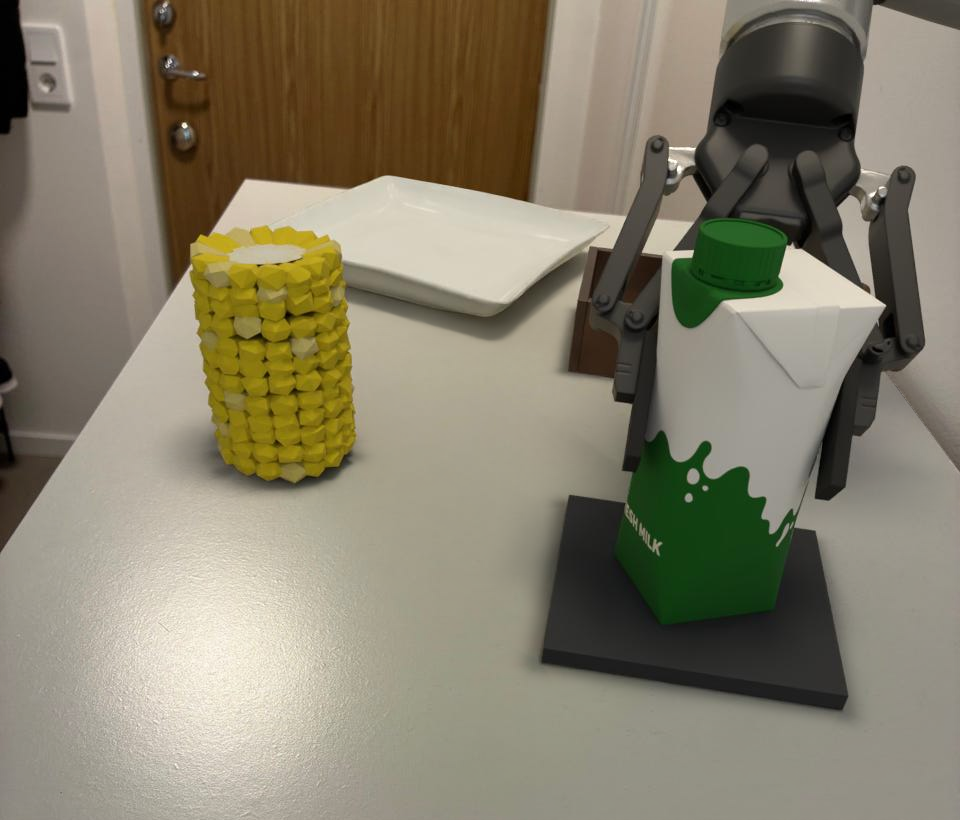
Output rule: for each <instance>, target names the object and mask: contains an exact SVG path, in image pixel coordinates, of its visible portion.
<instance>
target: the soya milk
mask: <svg viewBox="0 0 960 820" xmlns="http://www.w3.org/2000/svg"><path fill="white" fill-rule="evenodd" d="M787 240H788V239H787V236H786V235H785V234H784V233H783V232H781V231H780V230H778V229H776V228H774V227H771V226H769V225H766V224H763V223H759V222H754V221H749V220H743V219H733V218H719V219H711V220H707V221H705V222H703V223H702V224H701V225H700V226H699V229H698V234H697V239H696V243H695V248H694V250H685V251H673V250H671V251H664V252H663V253H662V255H663V257H662V274H661V291H660V308H659V324H658V340H657V362H656V368H655V374H654V381H653V387H652V394H651V400H650V407H649V413H648V420H647V426H646V433H645V439H644V446H643V452H642V458H641V461H640V463H639V466H638V469H637V471H636V473H634V472H631V478H630V482H629V487H628V493H627V497H626V501H625V503H626V505H625V509H624V513H623V517H622V522H621V526H620V530H619V534H618V538H617V542H616V547H615V551H614V555H615V557H616V558H617V560H618V561H619V563H620V564H621V566H622V567H623V569H624V570H625V572H626V573H627V575H628V576H629V578H630V579H631V581H632V582H633V584H634V585H635V587H636V588H637V590H638V591H639V593H640V594H641V596H642V597H643V599H644V600H645V602H646V603H647V605H648V606H649V607H650V609H651V610H652V612H653V613H654V615H655V616H656V618H657V619H658V621H659V622H660V624H661V625H668V624H675V623H683V622H690V621H697V620H704V619H712V618H719V617H726V616H733V615H740V614H748V613H755V612H762V611H769V610H774V606H775V602H776V598H777V594H778V590H779V586H780V582H781V578H782V574H783V570H784V566H785V562H786V558H787V554H788V550H789V546H790V542H791V538H792V534H793V530H794V527H796V523H797V519H798V516H799V513H800V510H801V507H802V504H803V500H804V497H805V495H806V492H807V489H808V485H809V483H810V480H811V476H812V474H813V470H814V467H815V464H816V461H817V458H818V455H819V452H820V451H821V446H822V441H823V438H824V435H825V432H826V429H827V426H828V423H829V420H830V417H831V414H832V411H833V408H834V405H835V402H836V399H837V396H838V393H839V390H840V387H841V384H842V382H843V379H844V377H845V375H846V373H847V372H848V370H849V368H850V366H851V364H852V363H853V361H854V359H855V358H856V356H857V354H858V353H859V351H860V349H861V347H862V346H863V344H864V342H865V341H866V339H867V337H868V336H869V334H870V332H871V331H872V329H873V327H874V325H875V324H876V322H877V323H878V319H879V317H880V315H881V314H882V312H883V310H884V309H885V307H886V305H885V304H883V303H882V302H881V301H879V300H878V299H876V298H875V296H873V295H872V294H869V293H867V292H866V291H864V290H863V289H861V288H859V287H858V286H856V285H855V284H853V283H852V282H850V281H849V280H847V279H846V278H844V277H843V276H841V275H840V274H838V273H837V272H835V271H834V270H832V269H831V268H829V267H828V266H826V265H825V264H823V263H822V262H820V261H819V260H817V259H816V258H814V257H813V256H811V255H810V254H808V253H807V252H805V251H804V250H802V249H795V248H787V243H788V242H787Z"/></svg>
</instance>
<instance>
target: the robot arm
mask: <svg viewBox="0 0 960 820" xmlns="http://www.w3.org/2000/svg"><path fill="white" fill-rule="evenodd" d="M873 6H880V7H883V8H886V9H889V10H892V11H895V12H899V13H902V14H905V15H907V16H912V17H914V18H918V19H920V20H924V21H926V22H930V23H933V24H937V25H941V26H943V27H947V28H950V29H954V30H957V31H960V0H726V5H725V11H724V17H723V24H722V29H721V36H720V43H719V49H718V62H717V65H716V68H715V74H714V80H713V87H712V94H711V100H710V107H709V113H708V119H707V126H706V133H705V134H704V136H703V137H702V139H701V140H700V141H699V142H698V144H697V146H696V147H694V146H693V147H691V146H689V147H688V146H670V144H669V143H670V142H669V141H668V139H667V138H666V137H665V136H664V135H660V134H655V135H652V136H651V137H649V138H648V139H647V140H646V143H645V147H644V151H643V152H644V153H643V157H642V161H641V169H640V174H639V175H640V177H639V178H640V179H639V188H638V190H637V192H636V194H635V197H634V199H633V201H632V204H631V206H630V209H629V211H628V212H627V214H626V217H625V220H624V222H623V224H622V227H621V229H620V231H619V234H618V236H617V238H616V240H615V242H614V245H613V247H612V248H611V249H612V252H611V254H610V256H609V259H608V261H607V263H606V266H605V268H604V270H603V272H602V275H601V277H600V279H599V282H598V284H597V286H596V289H595V291H594V293H593V295H592V300H591V306H590V314H589V324H590V326H591V328H592V329H594V330H596V331H606V332H608V333H610V334H611V335H613V336H614V337H615V338H616V339H617V341H618V344H619V350H618V357H617V363H616V369H615V375H614V377H613V381H612V382H613V383H612V390H611V395H612V398H613V402H614V403H621V404H628V405H631V408H630V415H629V421H628V426H627V434H626V439H625V440H626V441H625V448H624V453H623V460H622V465H621V472H628V473H632V472H634V473H636V471H637V469H638V466H639V463H640V461H641V458H642V452H643V446H644V439H645V433H646V426H647V420H648V413H649V407H650V400H651V394H652V387H653V381H654V374H655V368H656V362H657V340H658V332H654V331H651V330H652V329H653V327H654V326H655V325H656V323H657V322H658V321H659V308H660V291H661V274H662V266H661V267H660V268H659V269H658V271H657V272H656V273H655V275H654V276H653V277H652V279H651V280H650V281H649V283H648V284H647V285H646V287H645V288H644V289H643V290H642V292H641V293H640V294H639V296H638V297H637V298H636V300H635V301H634V302H633V304H632V305H631V306H630V305H628V304H626V303H624V302H622V301H621V300H622V297H623V295H624V293H625V290H626V288H627V286H628V283H629V281H630V279H631V277H632V274H633V272H634V270H635V267H636V265H637V263H638V260H639V258H640V256H641V253H643V251H644V249H645V246H646V244H647V241H648V239H649V237H650V236H651V233H652V230H653V228H654V226H655V223H656V221H657V218H658V216H659V213H660V209H661V206H662V203H663V197H668V196H670V195H672V194H673V193H676V191H678V190H679V187H680V184H681V182H682V180H683V179H685V178H687V177H689V176H692V179H693V180H694V182H695V184H696V185H697V187H698V189H699V191H700V193H701V194H702V196H703V198H704V200H705V202H706V203H705V205H704V206H703V208H702V210H701V212H700V214H699V215H698V216H697V218H696V219H695V221H694V222H693V224H691V226H690V227H689V229H688V230H687V231H686V233H685V234H684V235H683V237H682V238H681V239H680V240H679V242H678V243H677V244H676V246H674V249H672V251H685V250H694V248H695V243H696V239H697V234H698V229H699V226H700V225H701V224H702V223H703V222H705V221H707V220H711V219H719V218H733V219H743V220H749V221H754V222H759V223H763V224H766V225H769V226H771V227H774V228H776V229H778V230H780V231H781V232H783V233H784V234H785V235H786V236H787V239H788V240H787V242H788V243H787V246H788V247H791V246H792V244H793V246H794V249H802V250H804V251H805V252H807V253H808V254H810V255H811V256H813V257H814V258H816V259H817V260H819V261H820V262H822V263H823V264H825V265H826V266H828V267H829V268H831V269H832V270H834V271H835V272H837V273H838V274H840V275H841V276H843V277H844V278H846V279H847V280H849V281H850V282H852V283H853V284H855V285H856V286H858V287H859V288H861V289H863V290H864V288H863V286H862V283H863V282H862V281H861V278H860V276H859V273H858V271H857V268H856V265H855V263H854V260H853V258H852V256H851V252H850V250H849V247H848V245H847V243H846V240H845V238H844V234H843V231H844V229H843V228H844V225H843V220H842V217H841V215H840V212H839V210H838V208H839V207H840V205H841V204H843V203H844V202H845V201H846V200H847V198H849V197H850V196H852V197H854V198H855V199H856V200H857V201H858V202H859V204H860V207H859V208H860V209H859V210H860V213H861V219H862V220H863V221H865V222H869V226H868V232H867V234H868V235H867V241H868V252H869V259H870V266H871V274H872V283H873V289H874V290H873V291H874V297H875V298H876V299H878V300H879V301H881V302H882V303H883V304H885V305H886V307H885V309H884V310H883V312H882V314H881V315H880V317H879V319H878V320H877V322H876V324H875V325H874V327H873V329H872V331H871V332H870V334H869V336H868V337H867V339H866V341H865V342H864V344H863V346H862V347H861V349H860V351H859V353H858V354H857V356H856V358H855V359H854V361H853V363H852V364H851V366H850V368H849V370H848V372H847V373H846V375H845V377H844V379H843V382H842V384H841V387H840V390H839V393H838V396H837V399H836V402H835V405H834V408H833V411H832V414H831V417H830V420H829V423H828V426H827V429H826V432H825V435H824V438H823V441H822V444H821V447H820V455H819V463H818V468H817V469H818V470H817V476H816V484H815V490H814V500H820V501H826V502H830V501H831V500H833V498H835V497H836V496H837V495H838V494H840V493H841V492H842V491H843V490H844V489H846V487H847V480H848V472H849V465H850V457H851V450H852V442H853V437H854V436H855V437H862V436H863V435H864V434H865V433H866V432H867V431H868V430H869V429H870V428H871V427H872V425H873V423H874V421H875V420H876V414H877V406H878V399H879V392H880V384H881V376H882V373H885V372H889V371H890V372H893V373H898V372H901V371H903V370H904V369H905V368H907V366H908V365H909V364H910V363H911V362H912V361H913V360H914V359H915V358H916V357H917V356H918V355H919V354H920V353H921V352H922V351H924V348H925V347H926V336H925V327H924V320H923V312H922V305H921V297H920V291H919V290H920V289H919V282H918V275H917V267H916V260H915V253H914V252H915V251H914V244H913V237H912V230H911V222H910V215H909V208H910V203H911V201H912V195H913V192H914V188H915V184H916V179H917V175H916V171H915V170H914V169H913V168H912V167H910V166H908V165H899V166H897V167H895V168H894V169H893V171H892V172H891V174H890V173H889V174H888V173H884V172H880V171H876V170H871V169H866V168H862V165H861V161H860V158H859V156H858V153H857V152H856V147H855V146H856V145H855V142H856V134H857V127H858V121H859V120H858V119H859V111H860V104H861V97H862V91H863V83H864V75H865V64H864V62H865V60H866V58H867V55H868V54H867V53H868V46H869V39H870V31H871V22H872V15H873V8H874V7H873ZM787 246H786V247H787ZM861 282H862V283H861Z"/></svg>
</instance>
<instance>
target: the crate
mask: <svg viewBox="0 0 960 820" xmlns="http://www.w3.org/2000/svg"><path fill="white" fill-rule="evenodd" d="M612 249H613V248H610V247H609V248H608V247H601V246H592V245H590V246H589V247H588V251H587V256H586V261H585V265H584V268H583V274H582V278H581V284H580V288H579V293H578V297H577V300H576V301H577V302H576V308H575V309H576V310H575V315H574V316H575V317H574V325H573V331H572V336H571V337H572V338H571V345H570V352H569V358H568V367H567V368H568V369H567V371H568V372H574V373H579V374H588V375H594V376H602V377H608V378H609V377H610V378H614V375H615V369H616V363H617V357H618V350H619V344H618V341H617V339H616V338H615V337H614V336H613V335H611V334H610V333H608V332H606V331H596V330H594V329H592V328H591V326H590V324H589V314H590V306H591V300H592V295H593V293H594V291H595V289H596V286H597V284H598V282H599V279H600V277H601V275H602V272H603V270H604V268H605V266H606V263H607V261H608V259H609V256H610V254H611V252H612ZM662 257H663V254H656V253H649V252H642V253H641V256H640V258H639V260H638V263H637V265H636V267H635V270H634V272H633V274H632V277H631V279H630V281H629V283H628V286H627V288H626V290H625V293H624V295H623V297H622V300H621V301H622V302H624V303H626V304H628V305H630V306H631V305H632V304H633V302H634V301H635V300H636V298H637V297H638V296H639V294H640V293H641V292H642V290H643V289H644V288H645V287H646V285H647V284H648V283H649V281H650V280H651V279H652V277H653V276H654V275H655V273H656V272H657V271H658V269H659V268H660V267H661V266H662ZM658 324H659V321H658V322H657V323H656V325H655V326H654V327H653V329H652V330H651V331H654V332H658Z"/></svg>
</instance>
